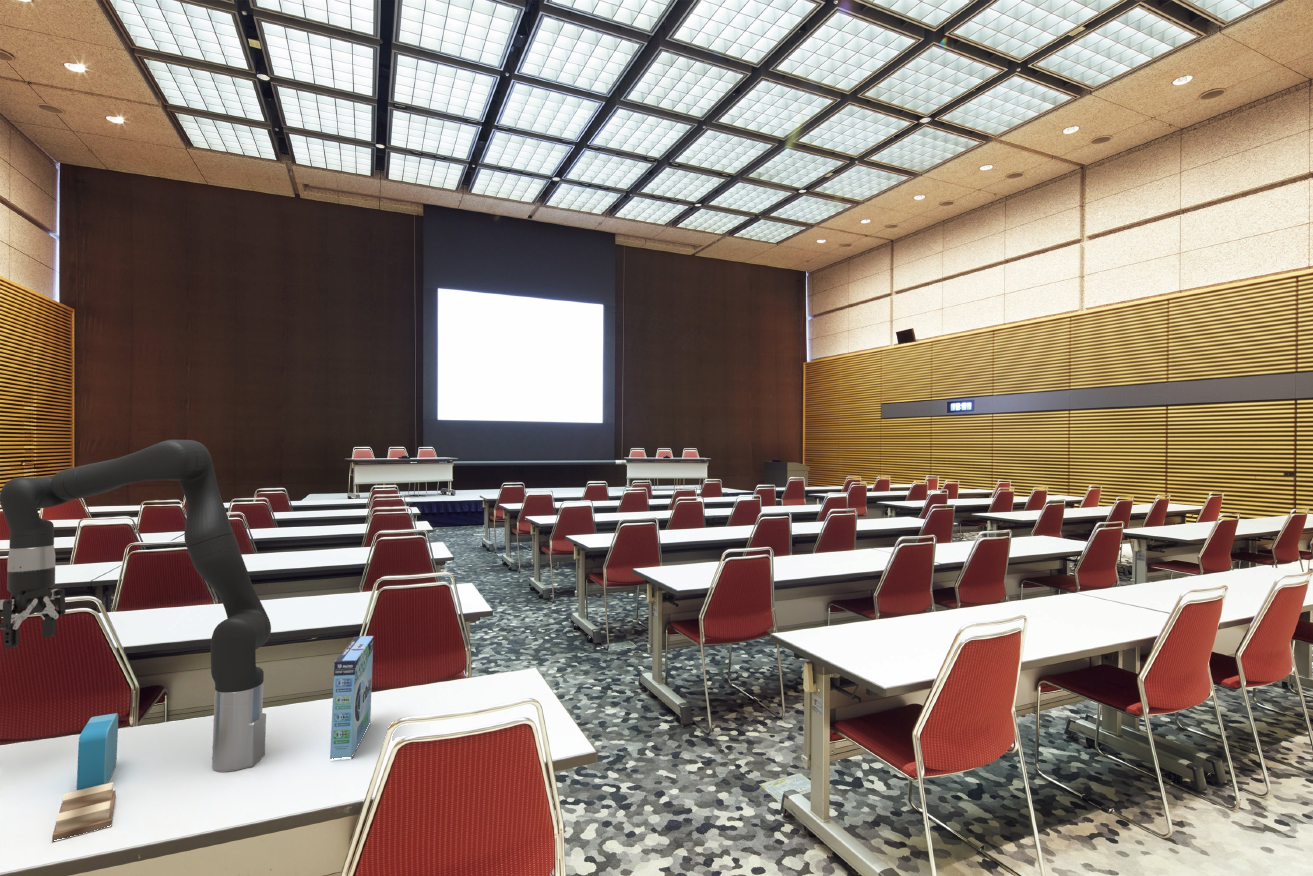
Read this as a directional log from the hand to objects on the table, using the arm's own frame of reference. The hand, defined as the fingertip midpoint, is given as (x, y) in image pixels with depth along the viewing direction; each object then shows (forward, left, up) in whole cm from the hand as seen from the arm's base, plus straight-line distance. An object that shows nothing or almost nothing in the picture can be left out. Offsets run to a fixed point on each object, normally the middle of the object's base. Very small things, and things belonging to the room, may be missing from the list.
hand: (30, 642), depth 138 cm
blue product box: (-65, -7, -28) cm, 71 cm away
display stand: (-26, +21, -28) cm, 44 cm away
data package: (-18, +6, -28) cm, 34 cm away
